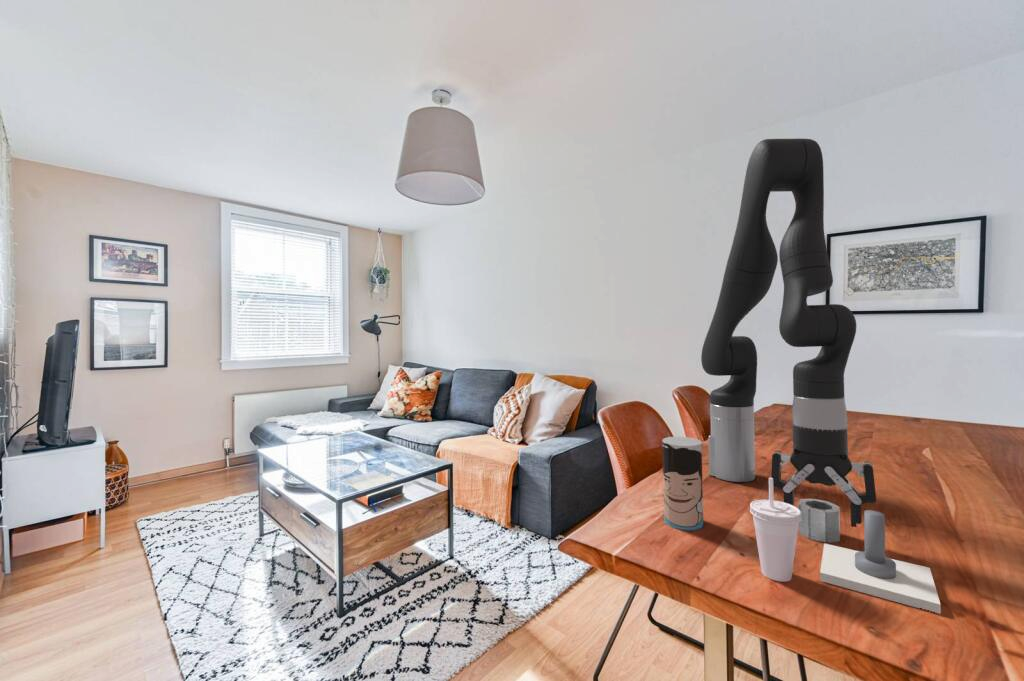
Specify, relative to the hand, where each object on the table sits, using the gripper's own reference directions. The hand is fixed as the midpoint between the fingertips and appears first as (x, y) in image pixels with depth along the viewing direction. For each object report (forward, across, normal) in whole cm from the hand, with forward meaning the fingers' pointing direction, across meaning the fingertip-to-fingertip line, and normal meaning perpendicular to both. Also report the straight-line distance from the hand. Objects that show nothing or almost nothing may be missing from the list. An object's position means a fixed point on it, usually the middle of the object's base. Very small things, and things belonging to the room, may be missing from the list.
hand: (821, 518), depth 73 cm
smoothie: (+3, -5, -17) cm, 18 cm away
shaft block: (+3, +6, -11) cm, 13 cm away
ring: (+3, 0, 0) cm, 3 cm away
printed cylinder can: (+3, -20, -8) cm, 22 cm away
